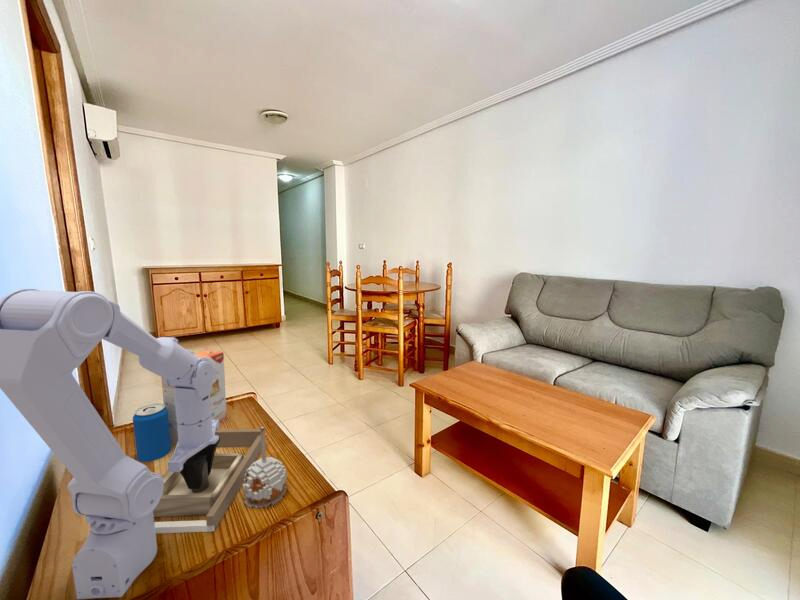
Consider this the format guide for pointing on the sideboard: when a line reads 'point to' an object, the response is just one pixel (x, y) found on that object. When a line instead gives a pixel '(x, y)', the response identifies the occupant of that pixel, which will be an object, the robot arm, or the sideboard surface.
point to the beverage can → (151, 432)
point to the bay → (227, 495)
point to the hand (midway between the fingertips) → (199, 481)
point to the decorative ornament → (264, 480)
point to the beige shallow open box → (200, 500)
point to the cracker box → (215, 396)
